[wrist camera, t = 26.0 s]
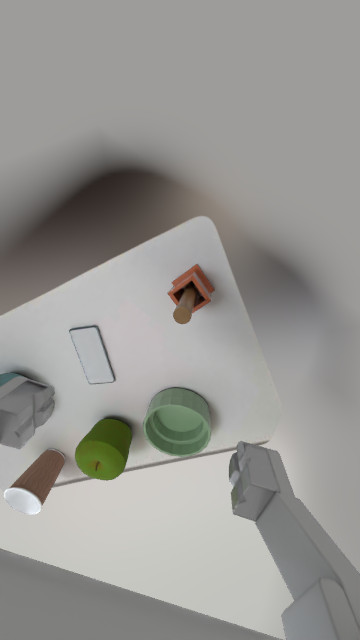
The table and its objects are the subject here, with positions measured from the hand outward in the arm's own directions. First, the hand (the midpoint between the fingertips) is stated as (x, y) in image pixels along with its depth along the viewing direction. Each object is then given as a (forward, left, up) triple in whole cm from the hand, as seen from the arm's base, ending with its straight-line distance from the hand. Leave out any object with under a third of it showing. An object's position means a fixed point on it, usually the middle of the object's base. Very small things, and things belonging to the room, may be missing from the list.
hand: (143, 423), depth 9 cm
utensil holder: (0, 0, -33) cm, 33 cm away
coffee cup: (-19, +66, -33) cm, 76 cm away
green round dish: (-24, +21, -33) cm, 46 cm away
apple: (-20, +40, -33) cm, 56 cm away
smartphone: (0, +29, -33) cm, 44 cm away
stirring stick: (0, 0, -32) cm, 32 cm away
